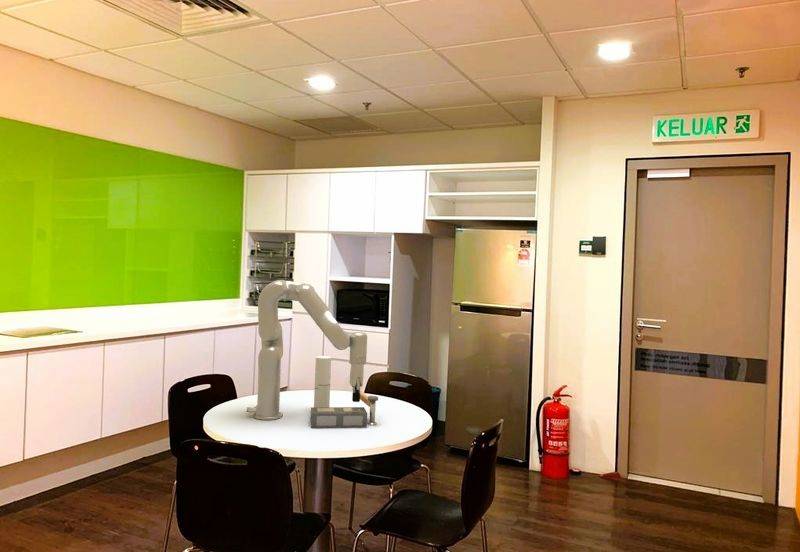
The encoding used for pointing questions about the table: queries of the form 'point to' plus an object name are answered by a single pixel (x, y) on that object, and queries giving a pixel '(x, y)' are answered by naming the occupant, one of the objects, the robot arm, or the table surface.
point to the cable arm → (367, 398)
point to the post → (372, 413)
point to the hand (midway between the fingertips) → (356, 401)
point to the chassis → (338, 417)
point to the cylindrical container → (322, 381)
